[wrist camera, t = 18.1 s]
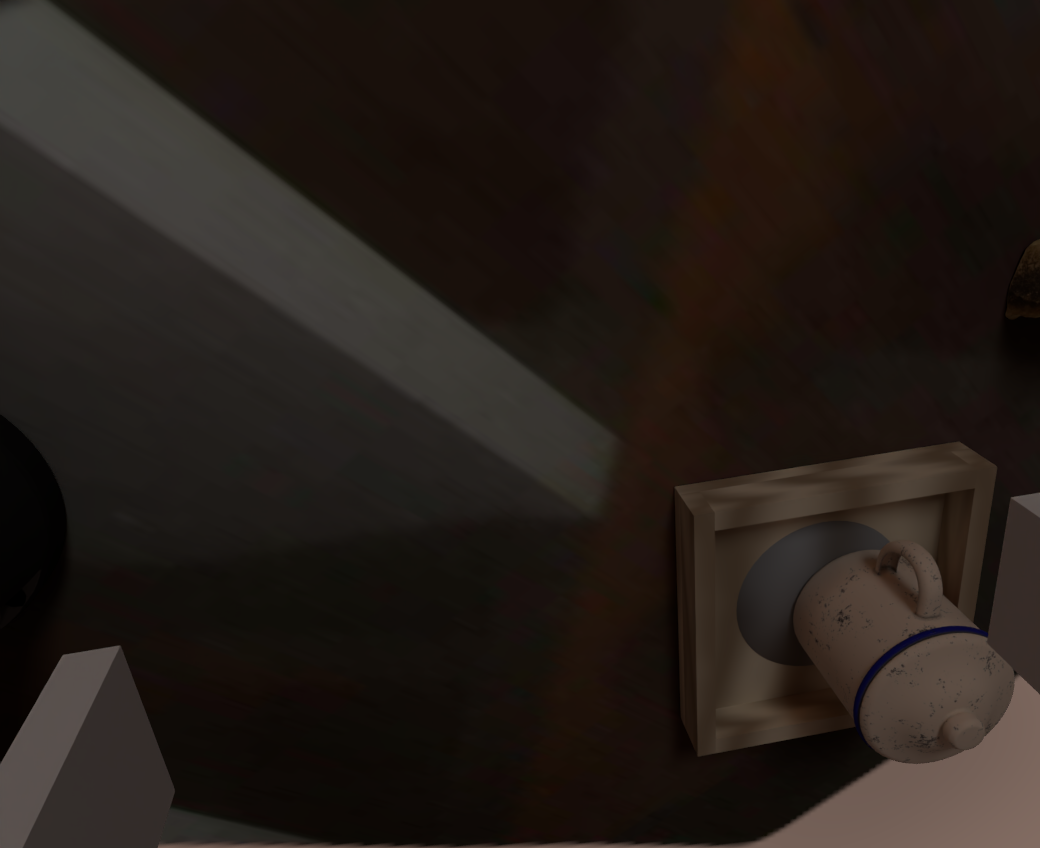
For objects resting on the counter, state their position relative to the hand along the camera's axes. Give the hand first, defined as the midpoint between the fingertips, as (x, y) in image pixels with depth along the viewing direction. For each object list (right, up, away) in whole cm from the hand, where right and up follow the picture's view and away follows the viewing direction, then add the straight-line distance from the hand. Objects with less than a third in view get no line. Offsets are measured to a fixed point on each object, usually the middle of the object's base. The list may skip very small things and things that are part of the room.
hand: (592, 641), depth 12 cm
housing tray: (+18, -7, +41) cm, 45 cm away
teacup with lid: (+20, -7, +40) cm, 45 cm away
